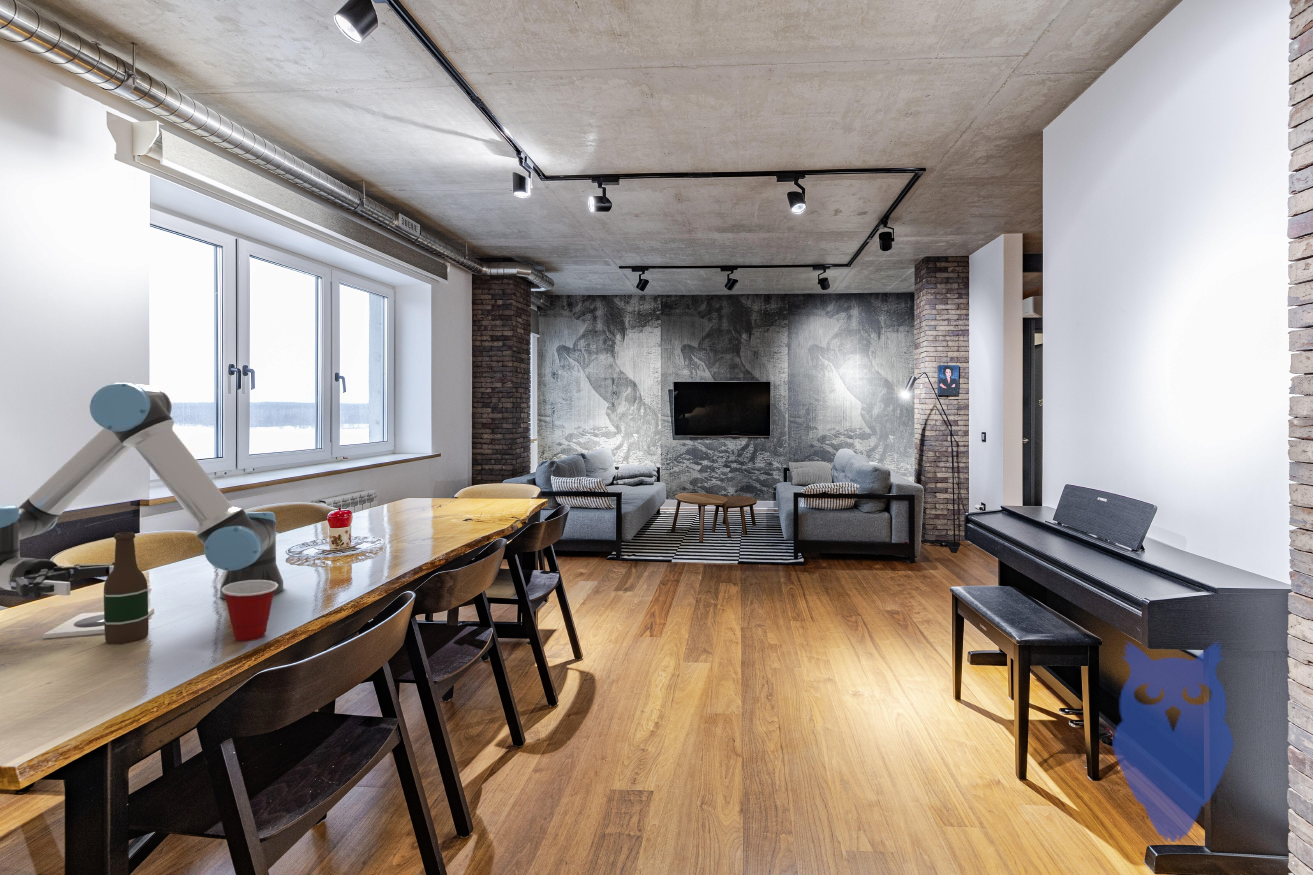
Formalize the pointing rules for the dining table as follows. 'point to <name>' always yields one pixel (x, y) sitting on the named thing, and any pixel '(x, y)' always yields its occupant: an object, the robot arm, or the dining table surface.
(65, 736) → the dining table surface
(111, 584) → the beer bottle
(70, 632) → the tile
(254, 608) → the plastic cup
